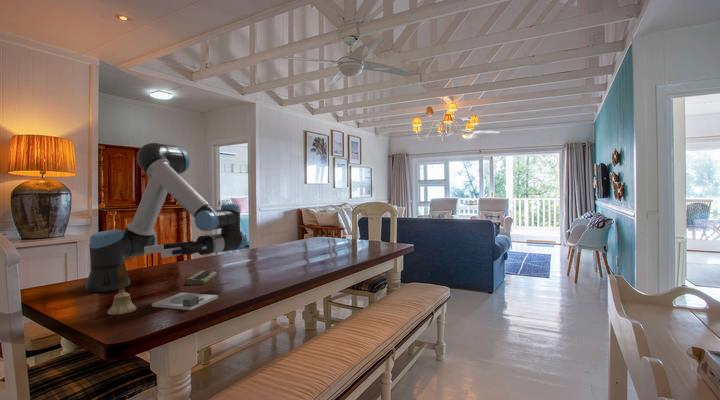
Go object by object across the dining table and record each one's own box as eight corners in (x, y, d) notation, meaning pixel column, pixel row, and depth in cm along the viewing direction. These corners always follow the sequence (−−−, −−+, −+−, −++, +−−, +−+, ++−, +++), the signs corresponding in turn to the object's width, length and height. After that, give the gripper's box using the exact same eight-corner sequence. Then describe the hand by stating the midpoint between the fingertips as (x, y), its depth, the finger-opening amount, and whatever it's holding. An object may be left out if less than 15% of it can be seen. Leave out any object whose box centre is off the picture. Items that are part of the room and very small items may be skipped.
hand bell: (121, 306, 123) (119, 260, 123) (142, 307, 122) (141, 261, 122) (100, 314, 115) (99, 265, 115) (123, 315, 114) (122, 266, 113)
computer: (204, 285, 152) (204, 277, 152) (185, 285, 152) (184, 278, 152) (217, 276, 168) (217, 269, 168) (199, 277, 167) (199, 270, 167)
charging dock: (151, 306, 123) (151, 296, 123) (182, 295, 136) (182, 286, 136) (190, 310, 118) (190, 300, 118) (218, 297, 132) (217, 288, 132)
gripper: (227, 256, 135) (169, 266, 118) (194, 251, 150) (138, 259, 133) (226, 236, 135) (168, 243, 118) (193, 233, 150) (137, 239, 133)
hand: (152, 252), depth 126 cm, fingers open, 13 cm apart
